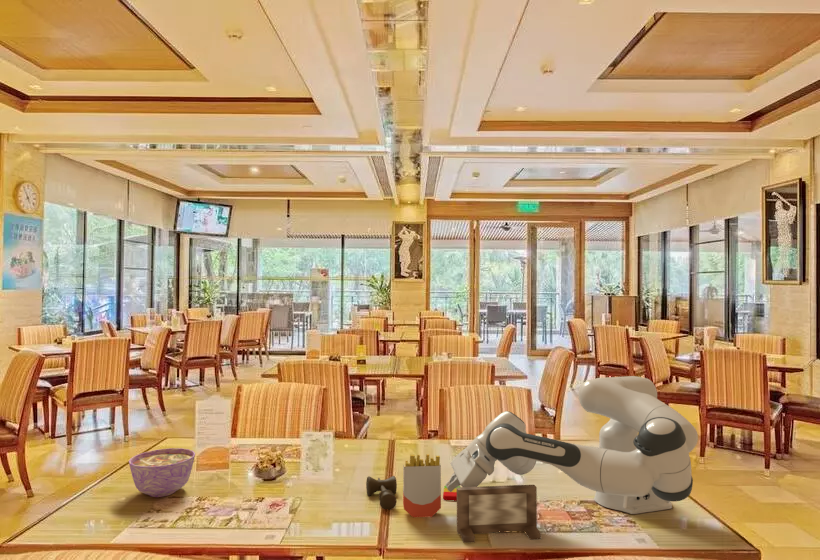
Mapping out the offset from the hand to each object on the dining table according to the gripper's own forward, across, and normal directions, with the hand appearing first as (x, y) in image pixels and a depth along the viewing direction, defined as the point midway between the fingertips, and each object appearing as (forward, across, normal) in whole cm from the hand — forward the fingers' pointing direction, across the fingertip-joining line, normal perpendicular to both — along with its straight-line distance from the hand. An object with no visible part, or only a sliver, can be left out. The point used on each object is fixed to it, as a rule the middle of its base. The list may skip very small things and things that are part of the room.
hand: (447, 488), depth 163 cm
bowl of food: (+70, -24, -59) cm, 94 cm away
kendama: (+19, -13, -8) cm, 24 cm away
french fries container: (+11, +1, 0) cm, 11 cm away
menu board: (-3, +16, +13) cm, 21 cm away
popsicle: (+3, -16, +8) cm, 18 cm away
